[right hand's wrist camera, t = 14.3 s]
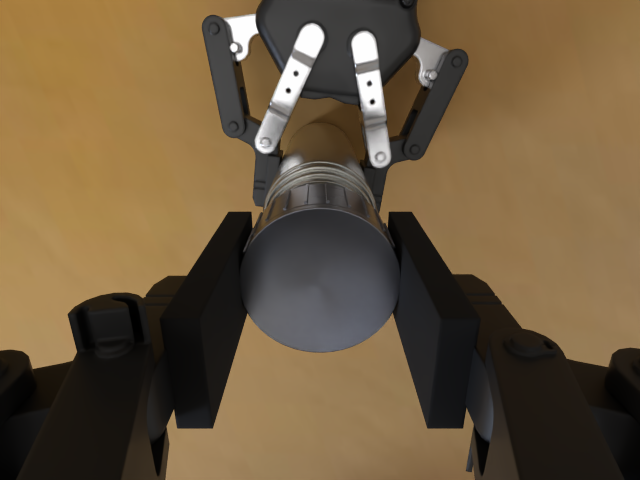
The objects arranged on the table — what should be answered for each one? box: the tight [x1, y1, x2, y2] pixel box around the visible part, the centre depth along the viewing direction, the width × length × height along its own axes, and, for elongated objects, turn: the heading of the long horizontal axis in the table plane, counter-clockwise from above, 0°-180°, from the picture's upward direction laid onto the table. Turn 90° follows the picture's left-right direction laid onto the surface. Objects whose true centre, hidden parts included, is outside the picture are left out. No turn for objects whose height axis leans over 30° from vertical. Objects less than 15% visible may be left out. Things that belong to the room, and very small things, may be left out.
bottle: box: [263, 122, 376, 212], centre depth 21 cm, size 5×5×19 cm
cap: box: [239, 183, 401, 352], centre depth 13 cm, size 5×5×3 cm
